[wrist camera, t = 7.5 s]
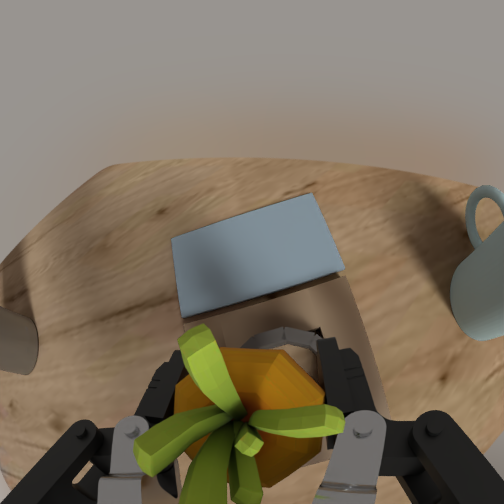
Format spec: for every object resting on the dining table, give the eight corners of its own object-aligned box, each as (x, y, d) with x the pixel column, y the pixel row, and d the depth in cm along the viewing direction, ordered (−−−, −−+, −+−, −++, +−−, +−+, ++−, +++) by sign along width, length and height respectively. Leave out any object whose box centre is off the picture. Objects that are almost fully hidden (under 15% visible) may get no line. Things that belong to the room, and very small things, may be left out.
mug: (517, 321, 17) (575, 293, 8) (463, 354, 18) (529, 337, 9) (478, 214, 23) (516, 160, 14) (422, 229, 24) (459, 166, 15)
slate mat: (183, 318, 25) (181, 317, 25) (172, 240, 29) (171, 238, 29) (344, 269, 24) (345, 268, 24) (312, 194, 28) (312, 192, 28)
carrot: (260, 345, 18) (123, 255, 4) (327, 373, 16) (428, 384, 3) (228, 408, 16) (40, 463, 3) (295, 438, 14) (259, 604, 1)
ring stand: (226, 473, 18) (213, 486, 15) (189, 326, 25) (173, 319, 22) (389, 431, 17) (402, 440, 14) (343, 280, 24) (348, 266, 21)
